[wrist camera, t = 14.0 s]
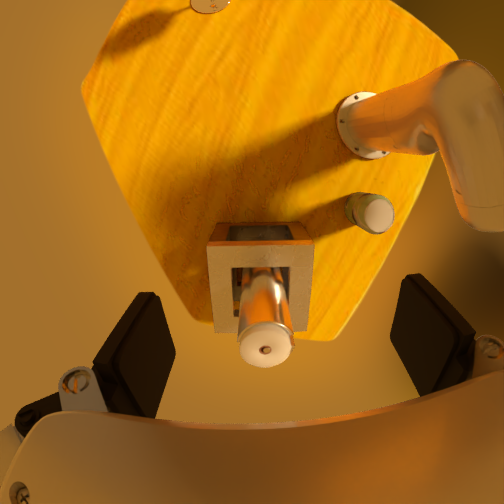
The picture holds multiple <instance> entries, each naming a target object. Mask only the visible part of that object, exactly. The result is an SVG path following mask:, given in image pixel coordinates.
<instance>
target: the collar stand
mask: <svg viewBox="0 0 504 504" xmlns="http://www.w3.org/2000/svg"><path fill="white" fill-rule="evenodd" d="M206 248H207V260H208V272H209V282H210V293H211V302H212V312H213V321H214V329H215V333H238V323H239V310H234V301H240V295H241V282H242V281H237V268H240V267H281V275H282V280H283V285H284V289H285V294H286V299H287V304H288V308H289V313H290V318H291V323H292V328H293V332H297V331H307V323H308V314H309V304H310V294H311V283H312V272H313V259H314V243H313V242H312V240H311V238H310V237H309V235H308V233H307V232H306V230H305V229H304V227H303V225H302V224H301V222H248V223H217V224H216V226H215V228H214V231H213V233H212V235H211V237H210V239H209V242H208V244H207V246H206Z"/></svg>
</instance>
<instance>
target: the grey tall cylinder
mask: <svg viewBox="0 0 504 504" xmlns="http://www.w3.org/2000/svg"><path fill="white" fill-rule="evenodd" d="M293 334H294V333H293V328H292V323H291V318H290V313H289V308H288V304H287V299H286V294H285V289H284V285H283V280H282V275H281V271H280V267H243V269H242V282H241V295H240V309H239V323H238V337H237V342H240V354H241V356H242V358H243V359H244V360H245V361H246V362H247V363H249V364H251V365H254V366H257V367H271V366H274V365H277V364H280V363H281V362H283V361H284V360H285V359H286V358H287V357H288V356H289V355H290V353H291V352H292V351H293V349H294V346H295V344H294V338H293Z"/></svg>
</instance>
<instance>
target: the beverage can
mask: <svg viewBox="0 0 504 504" xmlns="http://www.w3.org/2000/svg"><path fill="white" fill-rule="evenodd" d="M344 211H345V215H346V217H347V218H348V220H349V221H350V222H352V223H353V224H355V225H357V226H359V227H360V228H362V229H364V230H365V231H367V232H369V233H371V234H381V233H384V232H385V231H387V230H388V229H389V228H390V227H391V225H392V224H393V221H394V209H393V206H392V204H391V202H390V201H389V200H388V199H387V198H385V197H384V196H381V195H377V194H370V193H364V192H356V193H353V194H352V195H350V196H349V197H348V198H347V200H346V202H345V206H344Z"/></svg>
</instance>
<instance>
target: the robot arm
mask: <svg viewBox="0 0 504 504" xmlns="http://www.w3.org/2000/svg"><path fill="white" fill-rule="evenodd" d="M354 97H355V98H356V99H354ZM340 120H341V121H342V123H341V122H340ZM337 129H338V132H339V135H340V137H341V139H342V141H343V143H344V144H345V145H346V147H347V148H348V149H350V150H351V151H352V152H353V153H355V154H356V155H358V156H361V157H364V158H369V159H377V158H381V157H384V156H386V155H388V154H389V153H390V152H396V153H406V154H415V155H429V154H433V153H435V152H437V151H439V150H440V153H441V156H442V159H443V161H444V164H445V167H446V169H447V173H448V177H449V179H450V183H451V187H452V191H453V194H454V197H455V202H456V205H457V208H458V211H459V214H460V216H461V217H462V219H463V220H464V222H465V223H466V224H467V225H469V226H470V227H472V228H474V229H476V230H480V231H486V232H504V95H503V93H502V91H501V90H500V87H499V85H498V83H497V82H496V80H495V79H494V77H493V76H492V75H491V74H490V73H489V72H488V71H487V70H486V69H485V68H484V67H483V66H481V65H480V64H478V63H476V62H473V61H469V60H457V61H452V62H449V63H446V64H444V65H442V66H440V67H438V68H436V69H435V70H433V71H432V72H430V73H428V74H427V75H425V76H424V77H422V78H420V79H418V80H416V81H413V82H411V83H408V84H405V85H402V86H399V87H396V88H393V89H390V90H387V91H384V92H382V93H379V94H375V93H372V92H357V93H355V94H352V95H350V96H348V97H347V98H346V99H345V100H344V101H343V102H342V104H341V105H340V107H339V109H338V113H337ZM355 148H356V150H355ZM382 151H383V153H382ZM475 334H476V331H475V330H474V329H473V328H472V327H471V325H470V324H469V323H468V322H467V321H466V320H465V319H464V318H463V316H462V315H461V314H460V313H459V312H458V311H457V310H456V309H455V308H454V307H453V306H452V305H451V304H450V303H449V302H448V300H446V298H445V297H444V296H443V295H442V294H441V293H440V292H439V291H438V290H437V289H436V288H435V287H434V286H433V285H432V284H431V283H430V282H429V281H428V280H427V279H426V278H425V277H424V276H423V275H421V274H419V273H418V274H409V275H407V276H406V277H405V279H403V280H402V282H401V288H400V293H399V298H398V303H397V308H396V312H395V316H394V320H393V324H392V328H391V332H390V339H391V342H392V344H393V346H394V347H395V349H396V351H397V353H398V355H399V357H400V359H401V360H402V362H403V364H404V366H405V368H406V370H407V372H408V374H409V376H410V377H411V379H412V381H413V383H414V385H415V387H416V389H417V391H418V393H419V395H420V397H418V398H415V399H412V400H408V401H405V402H401V403H397V404H393V405H389V406H385V407H381V408H377V409H372V410H368V411H362V412H358V413H352V414H346V415H341V416H335V417H328V418H320V419H312V420H303V421H293V422H280V423H258V424H215V423H196V422H182V421H172V420H162V419H155V417H156V414H157V410H158V407H159V404H160V401H161V398H162V395H163V392H164V389H165V386H166V383H167V380H168V377H169V373H170V371H171V368H172V365H173V362H174V359H175V355H176V353H175V352H176V351H175V347H174V344H173V341H172V337H171V334H170V331H169V328H168V324H167V321H166V318H165V314H164V311H163V307H162V303H161V300H160V297H159V296H156V295H155V293H154V292H140V293H138V295H137V296H136V297H135V299H134V300H133V302H132V303H131V304H130V306H129V307H128V309H127V310H126V311H125V313H124V314H123V316H122V317H121V319H120V320H119V322H118V323H117V325H116V326H115V328H114V329H113V331H112V332H111V334H110V335H109V337H108V338H107V340H106V341H105V343H104V345H103V346H102V348H101V349H100V351H99V352H98V354H97V355H96V357H95V358H94V360H93V364H94V365H93V367H92V369H90V368H88V367H84V366H80V367H75V368H72V369H70V370H68V371H67V372H66V373H64V374H63V376H62V377H61V378H60V381H59V384H58V389H59V392H57V393H55V394H52V395H50V396H47V397H45V398H43V399H40V400H38V401H35V402H33V403H31V404H28V405H26V406H24V407H23V408H21V410H20V411H19V412H18V413H17V415H16V418H15V426H13V425H12V424H10V425H9V426H7V427H6V428H5V429H4V430H2V431H1V432H0V504H504V343H503V342H502V341H501V340H500V339H498V338H496V337H494V336H490V335H483V336H481V337H479V338H478V339H477V340H476V341H475V340H474V336H475Z"/></svg>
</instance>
